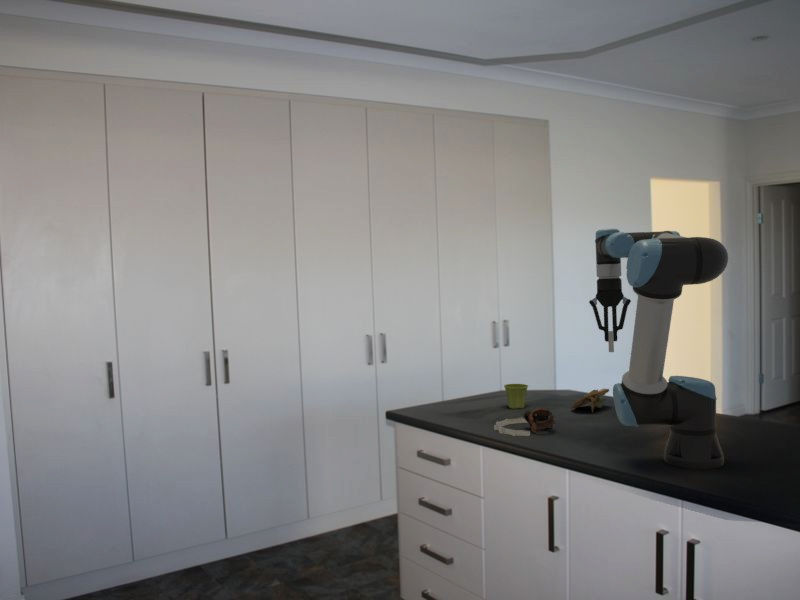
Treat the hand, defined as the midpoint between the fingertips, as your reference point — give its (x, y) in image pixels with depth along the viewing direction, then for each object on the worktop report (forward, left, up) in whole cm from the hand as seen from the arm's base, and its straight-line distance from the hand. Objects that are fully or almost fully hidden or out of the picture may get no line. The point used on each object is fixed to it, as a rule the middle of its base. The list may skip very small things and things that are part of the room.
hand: (611, 351), depth 215 cm
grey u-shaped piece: (+6, +28, -27) cm, 40 cm away
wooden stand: (+35, +6, -28) cm, 45 cm away
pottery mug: (+6, +24, -28) cm, 37 cm away
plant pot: (+40, +35, -27) cm, 60 cm away
